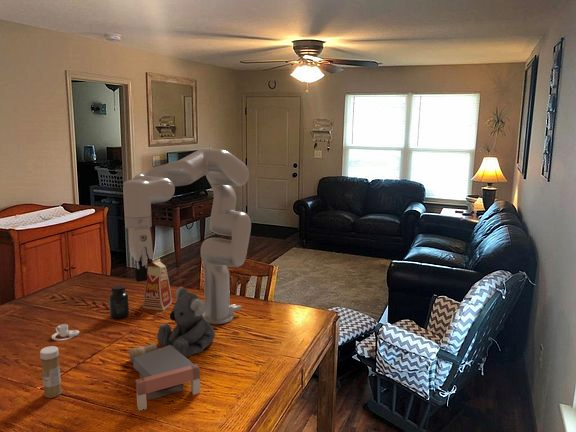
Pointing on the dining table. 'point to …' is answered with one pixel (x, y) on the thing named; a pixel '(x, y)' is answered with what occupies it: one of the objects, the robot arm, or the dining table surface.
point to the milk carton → (157, 287)
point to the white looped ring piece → (64, 332)
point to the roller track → (135, 353)
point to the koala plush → (187, 325)
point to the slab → (160, 361)
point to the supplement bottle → (119, 303)
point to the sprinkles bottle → (51, 371)
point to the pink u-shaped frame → (167, 382)
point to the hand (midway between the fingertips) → (141, 280)
